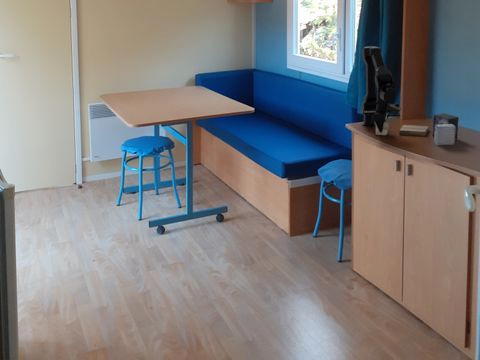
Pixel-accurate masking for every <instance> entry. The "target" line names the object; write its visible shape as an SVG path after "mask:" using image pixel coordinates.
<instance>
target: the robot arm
mask: <svg viewBox="0 0 480 360" xmlns="http://www.w3.org/2000/svg"><path fill="white" fill-rule="evenodd" d="M361 57H362V58H361V59H362V61H363V62H364V64H365V80H366V81H365V85H366V86H365V88H366V89H365V91H366V94H365V95H364V97H363V99H362V104H361V106H360V113H361V114H362V115H363V123H362V124H361V126H367V127H376V125H377V127H378V129H379V132H382V130H383V125H384V122H385V121H388V118H390V117H391V115H394V116H396V117H397V116H399V115H400V112H401V110H402V107H401V105H400V103H398V102H396V103H395V104H394V103H393V102H395V100H396V98H397V97H396V92H394V91H393V89H395V80H394V77H393V74H392V73H391V70H390V69H388V68H387V67H386V64H385V62H384V58H383V55H382V48H381V47H379V46H378V47H377V46H364V47H363V48H362V49H361ZM392 103H393V104H392Z"/></svg>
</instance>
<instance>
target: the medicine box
mask: <svg viewBox="0 0 480 360" xmlns="http://www.w3.org/2000/svg"><path fill="white" fill-rule="evenodd" d="M433 137H434V139H433V143H434V144H435V145H436V146H450V145H451V146H452V145H453V146H454V145H455V140H456V139H455V126H454V125H452V124H442V125H435V135H434V136H433Z"/></svg>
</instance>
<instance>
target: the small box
mask: <svg viewBox="0 0 480 360" xmlns="http://www.w3.org/2000/svg"><path fill="white" fill-rule="evenodd" d="M459 119H460V118H459V116H456V115H451V114H448V113H437V114H433V120H432V121H433V123H432V124H433V125H432V137H434V135H435V125H442V124H452V125H454V126H455V140H458V132H459V131H458V130H459Z"/></svg>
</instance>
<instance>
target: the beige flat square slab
mask: <svg viewBox="0 0 480 360" xmlns="http://www.w3.org/2000/svg"><path fill="white" fill-rule="evenodd" d="M428 132H429V126H428V125H412V124H409V125H408V124H403V125H402V126H401V127H400V129H399V131H398V133H399V135H403V136H420V137H421V136H422V137H425V136H426V135H427V133H428Z"/></svg>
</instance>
